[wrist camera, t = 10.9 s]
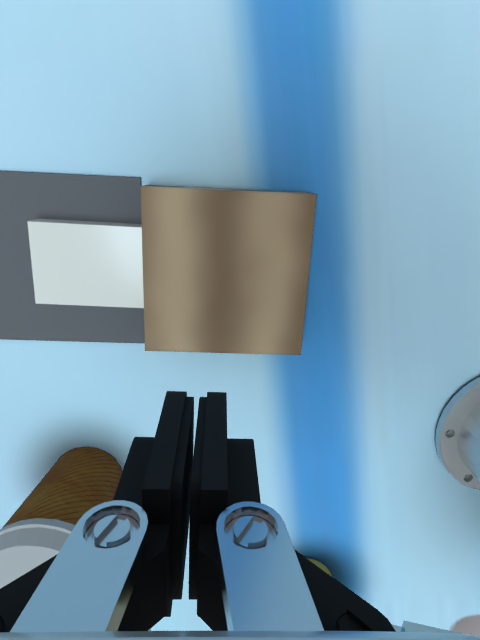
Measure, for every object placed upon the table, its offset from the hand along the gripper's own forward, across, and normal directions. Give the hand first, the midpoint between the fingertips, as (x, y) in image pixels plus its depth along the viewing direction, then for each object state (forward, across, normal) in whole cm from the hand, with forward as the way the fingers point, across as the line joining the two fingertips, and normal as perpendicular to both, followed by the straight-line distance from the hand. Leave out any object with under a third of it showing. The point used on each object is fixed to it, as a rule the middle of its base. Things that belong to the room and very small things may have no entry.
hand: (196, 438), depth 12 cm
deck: (+23, -1, 0) cm, 23 cm away
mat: (+23, +12, 0) cm, 26 cm away
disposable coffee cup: (+23, +11, +20) cm, 33 cm away
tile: (+23, +9, 0) cm, 25 cm away
